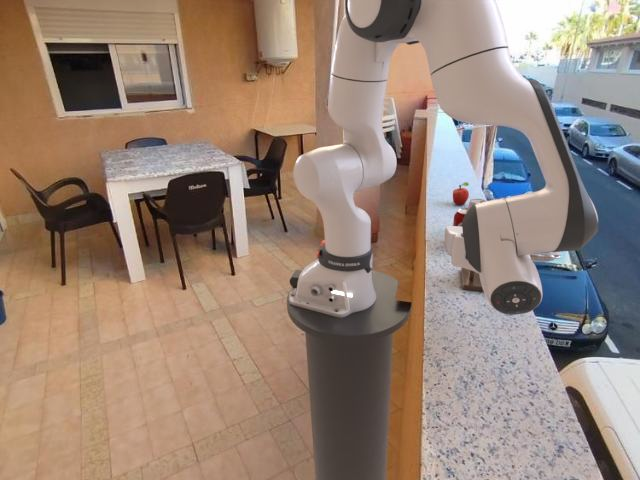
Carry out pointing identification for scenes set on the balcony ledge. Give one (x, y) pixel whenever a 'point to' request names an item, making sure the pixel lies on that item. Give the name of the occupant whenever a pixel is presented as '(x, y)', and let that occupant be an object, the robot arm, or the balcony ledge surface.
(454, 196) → the apple
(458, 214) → the soda can
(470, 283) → the brown upright frame
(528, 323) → the balcony ledge surface
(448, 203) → the balcony ledge surface
